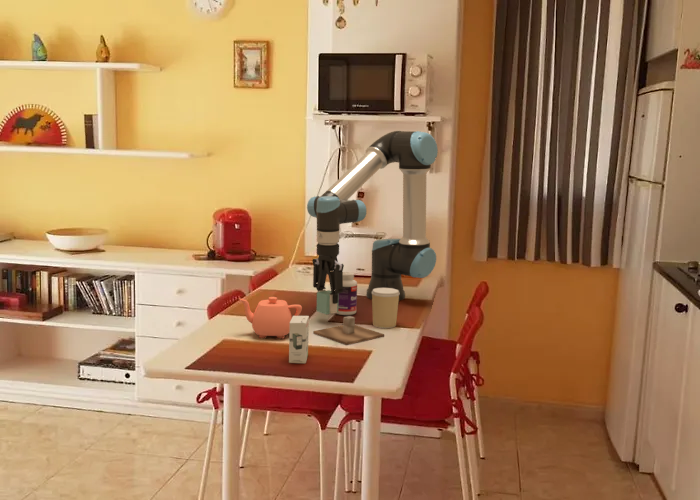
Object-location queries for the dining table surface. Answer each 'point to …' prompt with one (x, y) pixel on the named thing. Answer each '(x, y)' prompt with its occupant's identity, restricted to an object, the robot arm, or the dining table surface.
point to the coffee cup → (385, 307)
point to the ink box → (298, 339)
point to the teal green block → (324, 302)
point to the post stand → (348, 332)
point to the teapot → (271, 317)
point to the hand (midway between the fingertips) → (327, 310)
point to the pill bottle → (348, 295)
